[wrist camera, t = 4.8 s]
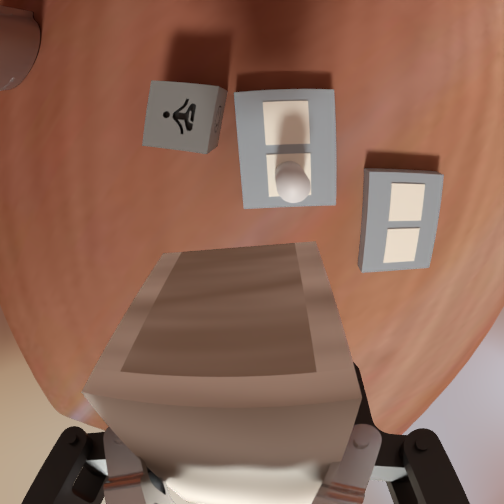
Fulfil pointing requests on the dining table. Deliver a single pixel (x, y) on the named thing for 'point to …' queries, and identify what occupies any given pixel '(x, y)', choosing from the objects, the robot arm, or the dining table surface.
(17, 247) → the dining table surface
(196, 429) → the cream block
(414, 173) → the board
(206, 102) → the dice cube
